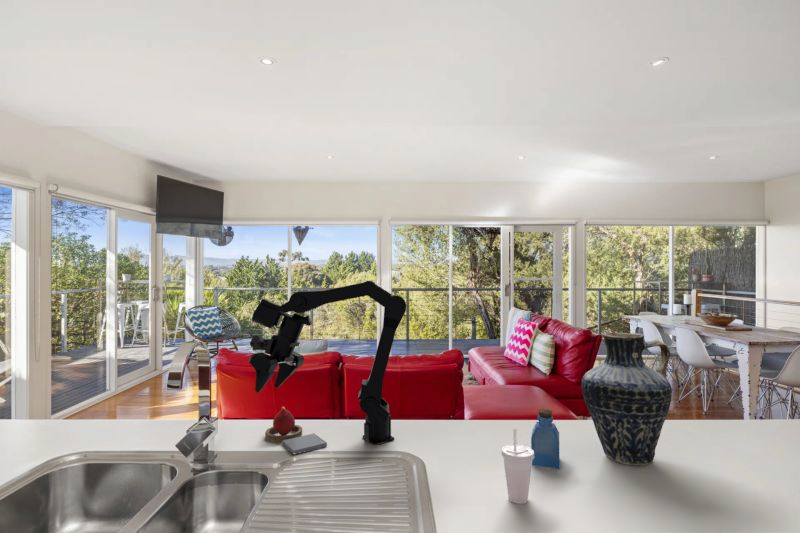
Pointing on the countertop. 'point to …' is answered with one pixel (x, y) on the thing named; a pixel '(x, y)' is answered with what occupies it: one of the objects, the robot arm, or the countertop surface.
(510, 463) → the smoothie
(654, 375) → the jug
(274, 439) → the ring
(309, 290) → the robot arm
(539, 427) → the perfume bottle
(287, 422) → the onion
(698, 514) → the countertop surface
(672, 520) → the countertop surface
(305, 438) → the slate tile
